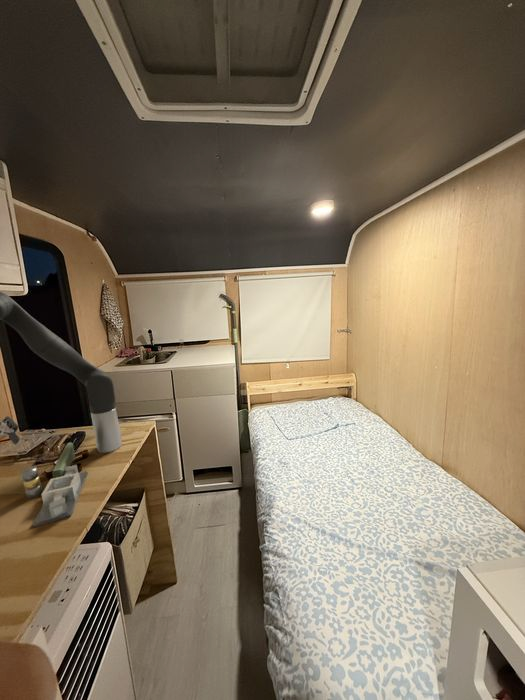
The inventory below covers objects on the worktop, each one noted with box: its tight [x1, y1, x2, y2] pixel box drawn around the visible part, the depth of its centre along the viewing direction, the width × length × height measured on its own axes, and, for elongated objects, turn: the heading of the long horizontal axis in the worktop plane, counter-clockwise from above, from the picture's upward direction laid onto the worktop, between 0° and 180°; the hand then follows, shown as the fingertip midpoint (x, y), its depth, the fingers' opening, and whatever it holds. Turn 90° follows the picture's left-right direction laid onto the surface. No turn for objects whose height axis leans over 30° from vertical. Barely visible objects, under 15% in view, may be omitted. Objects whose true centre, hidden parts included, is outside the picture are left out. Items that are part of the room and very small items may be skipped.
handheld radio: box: [51, 442, 77, 479], centre depth 106 cm, size 7×3×25 cm
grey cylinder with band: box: [20, 465, 44, 500], centre depth 91 cm, size 4×4×9 cm
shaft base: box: [32, 464, 89, 528], centre depth 89 cm, size 22×9×5 cm, turn 21°
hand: (2, 449), depth 93 cm, fingers open, 8 cm apart
